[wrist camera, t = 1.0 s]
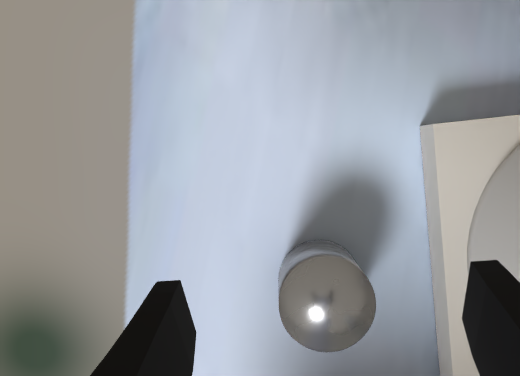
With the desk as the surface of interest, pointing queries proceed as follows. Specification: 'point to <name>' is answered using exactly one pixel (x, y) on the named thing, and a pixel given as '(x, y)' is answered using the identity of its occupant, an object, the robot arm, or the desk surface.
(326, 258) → the cylinder
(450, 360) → the scale
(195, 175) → the desk surface
